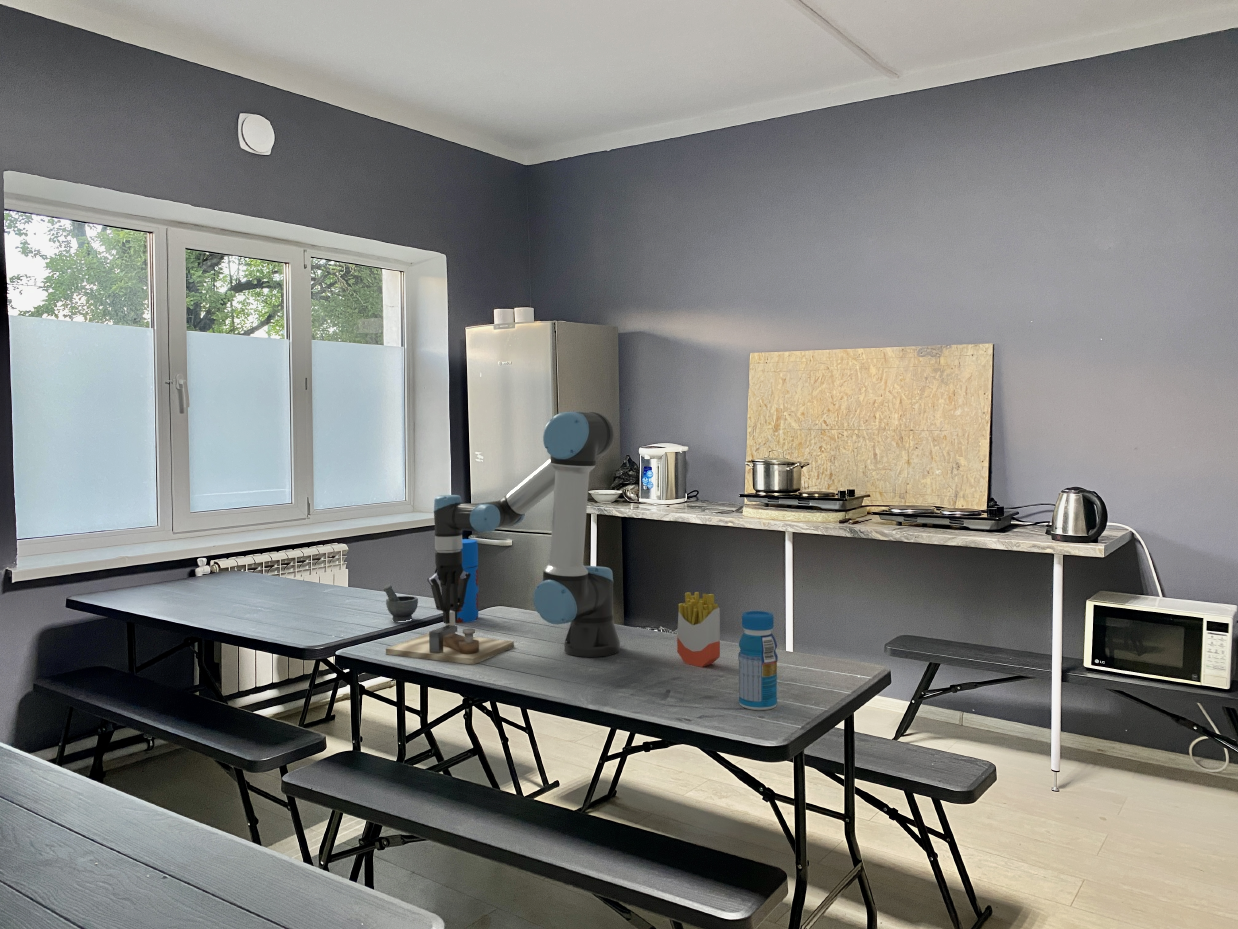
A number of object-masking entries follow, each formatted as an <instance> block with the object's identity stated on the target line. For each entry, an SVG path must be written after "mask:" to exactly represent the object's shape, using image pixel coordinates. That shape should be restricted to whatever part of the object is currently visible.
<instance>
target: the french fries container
mask: <svg viewBox="0 0 1238 929" xmlns="http://www.w3.org/2000/svg"><path fill="white" fill-rule="evenodd" d="M684 601H685V602H683V603H682V602H681V603H678V606H677V607H678V614H677V615H678V617H677V631H676V632H677V633H676V634H677V635H676V638H677V640H676V642H677V644H676V645H677V646H676V647H677V649H676V650H677V651H676V653H677V654H678V655H679V656H680V658H681V659H682V661H683V663H684V664H687V665H689V666H691V665H692V666H695V667H699V668H704V667H706V666H711V665H712V664H713V663H715V661H717V660H718V659H719V658H720V657H721V635H720V634H721V631H720V630H721V627H720V626H721V625H720V624H721V621H720V620H721V615H720V614H721V613H720V612H721V609H720V607H719V604H717V603H715V594H713V593H710V594H707V593H702V598H700V592H699V591H696V592H694V595H692V592H685V593H684Z"/></svg>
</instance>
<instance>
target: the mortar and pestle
mask: <svg viewBox="0 0 1238 929" xmlns="http://www.w3.org/2000/svg"><path fill="white" fill-rule="evenodd" d="M382 591H383V592H385V594H386V596H387V598H386V599H385V605H386V609H387V610H388V612H389V614H391V615H392V620H393V621H406V620H410V619H412V620H413V615H414V614H415V612H416V610H417V608H418V604H419V599H418V597H417V596H411V595H397V594H396V592H395V591H394V588H393V586H392V584H386V585H385V586H384V587H383V588H382ZM392 620H391V621H392ZM393 621H392V622H393Z"/></svg>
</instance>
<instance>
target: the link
mask: <svg viewBox="0 0 1238 929" xmlns="http://www.w3.org/2000/svg"><path fill="white" fill-rule="evenodd" d="M433 630H434V629H432V630H431V631H433ZM475 633H476V629H475V628H473V627H472V628H463V629H462V634H463V635H461V634H459V633H456V632H455V633H452V634H449V635H447V636H444V637H443V645H444V646H447V647H450V648H452V649H455V650H457V651H459V652H460V653H464V654H471V653H476V652H478V651H479V641H478V640H473V637H474V634H475ZM464 636H465V637H464Z"/></svg>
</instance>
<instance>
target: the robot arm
mask: <svg viewBox="0 0 1238 929" xmlns="http://www.w3.org/2000/svg"><path fill="white" fill-rule="evenodd" d="M543 430H544V431H543V435H542V442H543V445H544V446H543V447H544V448H545V449H546V452H547V453H548V454H549V455H550V457H549V459H547V460H546V461H545V462H543V464H541V465H539V467H538V468H536V469H535V470H534V471H533V472H532V473H531V474H529V475H528V476H526V478H524V479H523V480H522V481H521V482H519V483H518V484H517V485H516V486H515V487H514V488H512V489H511V490H510V491H509V492H508V493H506V494H505V495H504V496H503V497H502V498H501V499H499V500H495V501H487V502H479V503H472V502H471V503H469V502H468V503H464V502H463V501H462V497H461V496H460V495H459V494H443V495H442V494H441V495H437V496H436V497H435V498H434V502H433V518H434V549H435V550H436V551H435V553H434V561H435V562H434V564H435V570H434V574H433V575H432V576H429V577H427V582H428V584H429V586H430V587H431V592H432V595H433V596H432V597H433V601H434V605H435V608H436V610H437V611H439V612H440V611H441V612H442V621H443V623H444V624H445V626H447V625H453V626H456V623H455V622H457V611H459V608H462V607H463V605H464V599H465V594H466V588H467V583H468V580H469V578H470V576H471V574H470V573H466V572H465V571H463V567H462V563H463V555H462V551H461V550H460V549H462V548H463V547H462V539H463V531H469V532H479V533H485V532H489V533H491V532H493V531H495V530H496V529H499V528H503V527H506V528H507V527H512V526H515V525H519V524H520V523H521V522H522V521H523V520H524V518H525V516H526V513H528V512H529V511H530V510H532V509H533V508H534V507H535V506H537V504H539V503H540V502H541V501H542V500H544V499H545V498H546V497H548V496H549V495H550V494H551V493H552V492H553V504H552V505H553V506H552V520H551V522H552V523H551V524H552V525H551V538H550V552H549V553H550V555H549V563H548V564H547V565H546V566H544V567H543V570H542V572H543V574H542V581H541V582H539V583H538V584H537V586H536V587H535V589H534V590H533V598H532V600H533V605H534V608H535V610H536V613H537V614H539V616H540V617H541V619H542V620H544V621H545V622H547V623H548V624H551V625H565V624H569V626H568V630H567V633H566V636H565V640H564V649H563V650H564V652H565V653H566V654H568V655H571V656H575V657H582V658H583V657H584V658H587V657H588V658H594V657H595V658H597V657H607V656H611V655H615V654H617V653H619V652H620V651H621V642H620V641H621V640H620V638H619V635H618V631H617V629H616V626H615V623H614V579H613V578H614V576H613V570H612V569H611V568H610V567H606V566H598V565H596V566H595V565H584V556H585V554H584V552H585V542H586V541H585V540H586V526H587V513H588V512H587V509H588V498H589V496H588V494H589V479H590V472H591V471H592V470H594V468H595V467H596V466H597V465H596V464H597V461H598V460H600V459H601V458H602V457H603V456H604V455H606V454H607V453H608V452H609V451H610V450H611V448H612V446H613V444H614V442H615V441H614V440H615V434H616V433H615V429H614V426H613V424H612V422H611V420H610V419H609V418H607V416H605V415H603V414H602V413H599V412H594V411H593V412H592V411H588V412H587V411H574V410H573V411H567V412H560V413H557V414H556V415H555V414H554V416H552V417H551V418H550V420H548V422H547V423H546V425H545V427H544V429H543ZM459 578H460V580H459ZM458 580H459V583H458ZM439 582H440V584H439ZM450 609H451V610H450Z"/></svg>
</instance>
